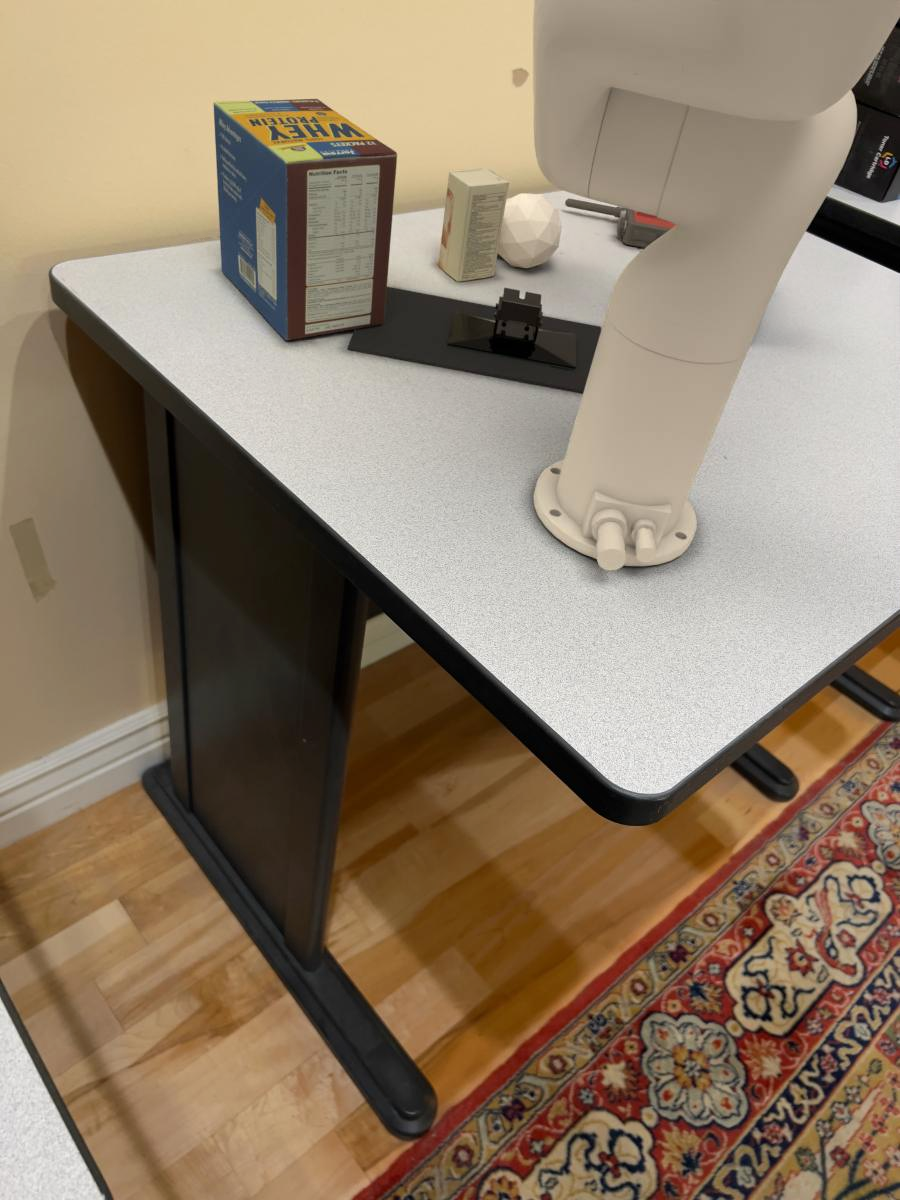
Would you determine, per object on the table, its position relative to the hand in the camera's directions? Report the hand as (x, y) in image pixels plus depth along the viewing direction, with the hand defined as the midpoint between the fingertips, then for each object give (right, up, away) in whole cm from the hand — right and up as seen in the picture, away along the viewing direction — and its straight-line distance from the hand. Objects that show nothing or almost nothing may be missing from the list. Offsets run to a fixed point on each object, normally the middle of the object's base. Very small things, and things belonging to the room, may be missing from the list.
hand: (713, 189), depth 75 cm
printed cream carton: (-21, +1, +22) cm, 30 cm away
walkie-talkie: (+2, +12, +38) cm, 40 cm away
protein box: (-37, -6, +11) cm, 39 cm away
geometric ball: (-14, +3, +26) cm, 30 cm away
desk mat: (-19, -9, +11) cm, 24 cm away
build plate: (-16, -10, +11) cm, 22 cm away
